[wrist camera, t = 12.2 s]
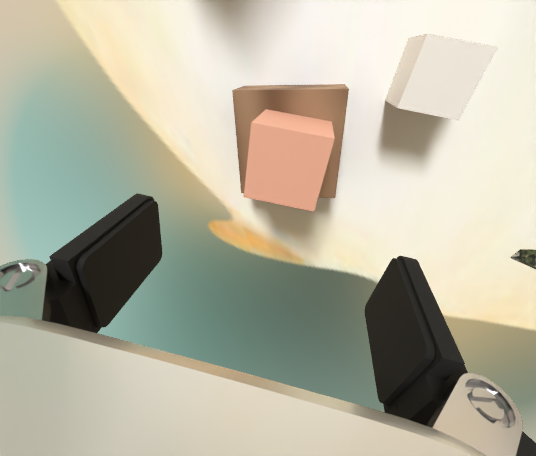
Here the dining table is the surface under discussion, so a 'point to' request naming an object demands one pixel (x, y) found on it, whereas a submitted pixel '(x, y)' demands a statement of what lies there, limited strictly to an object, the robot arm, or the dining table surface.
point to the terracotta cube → (287, 159)
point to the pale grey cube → (438, 75)
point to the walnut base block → (298, 103)
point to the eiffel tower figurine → (526, 257)
